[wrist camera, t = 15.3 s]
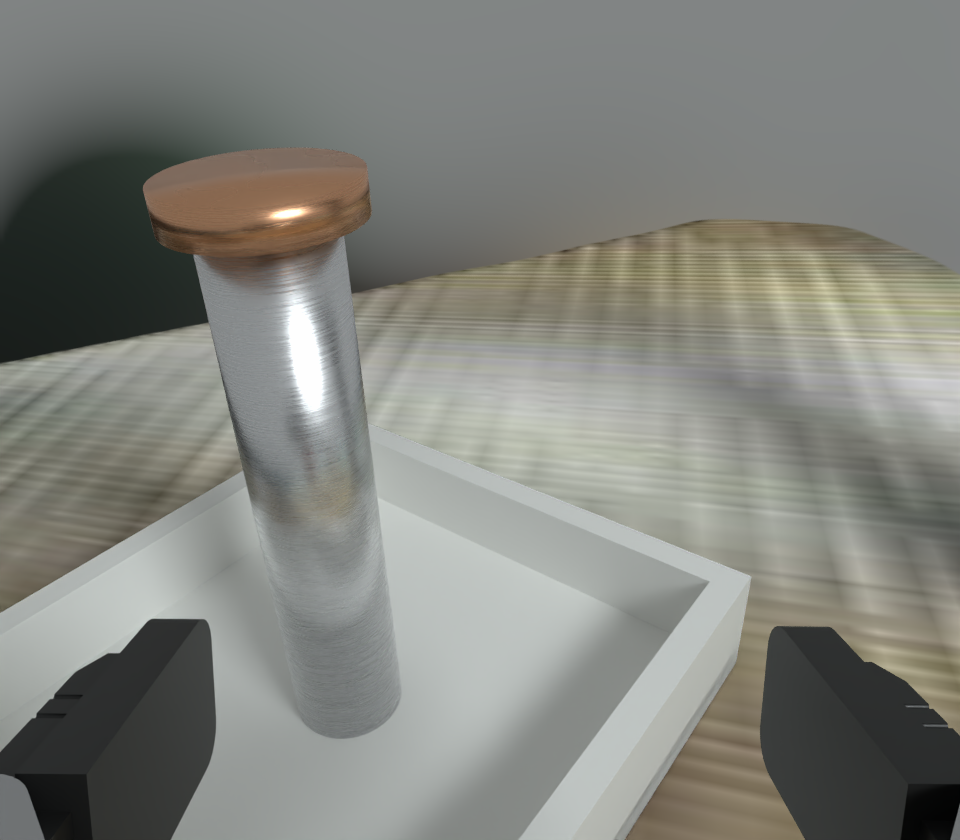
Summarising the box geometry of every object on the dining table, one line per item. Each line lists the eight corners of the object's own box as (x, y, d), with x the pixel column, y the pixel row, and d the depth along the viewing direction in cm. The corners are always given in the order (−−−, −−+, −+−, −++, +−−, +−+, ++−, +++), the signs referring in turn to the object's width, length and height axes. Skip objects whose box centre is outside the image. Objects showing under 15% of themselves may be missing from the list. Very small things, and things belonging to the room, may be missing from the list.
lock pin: (349, 619, 30) (270, 139, 21) (452, 680, 27) (411, 163, 18) (245, 708, 27) (98, 185, 18) (350, 787, 24) (239, 222, 15)
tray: (352, 484, 39) (342, 412, 37) (735, 662, 29) (751, 576, 27) (-69, 769, 26) (-121, 683, 24) (354, 1268, 16) (328, 1192, 14)
